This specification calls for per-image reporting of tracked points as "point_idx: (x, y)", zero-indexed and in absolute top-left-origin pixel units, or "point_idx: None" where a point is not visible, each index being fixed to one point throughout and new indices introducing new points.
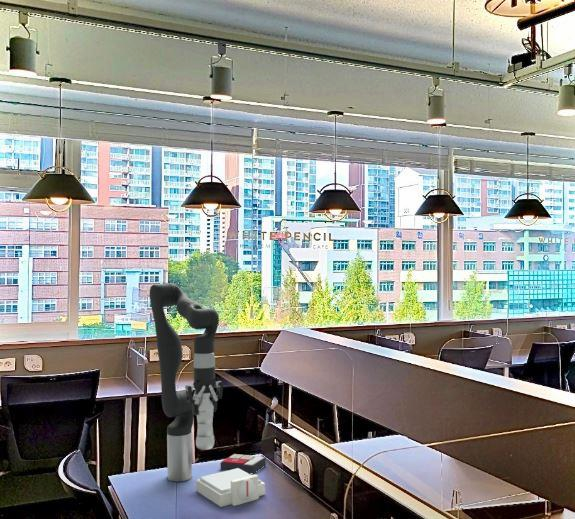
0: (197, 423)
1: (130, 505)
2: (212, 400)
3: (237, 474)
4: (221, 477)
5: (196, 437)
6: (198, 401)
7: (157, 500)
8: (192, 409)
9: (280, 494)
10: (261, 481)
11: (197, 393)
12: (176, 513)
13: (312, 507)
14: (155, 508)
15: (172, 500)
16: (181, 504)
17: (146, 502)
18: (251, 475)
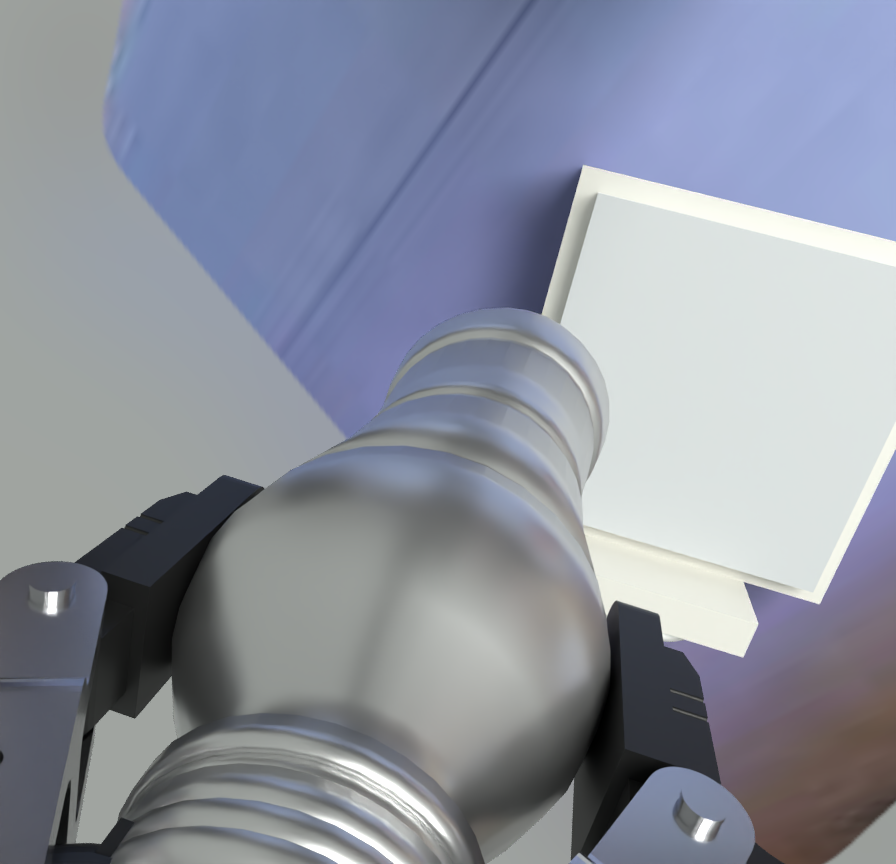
0: (375, 417)
1: (157, 22)
2: (626, 796)
3: (819, 386)
4: (693, 334)
5: (399, 372)
6: (210, 647)
7: (313, 92)
8: (135, 523)
9: (854, 634)
10: (835, 567)
11: (29, 808)
12: (286, 348)
13: (785, 839)
14: (241, 194)
15: (377, 173)
16: (376, 271)
17: (249, 63)
18: (720, 616)
